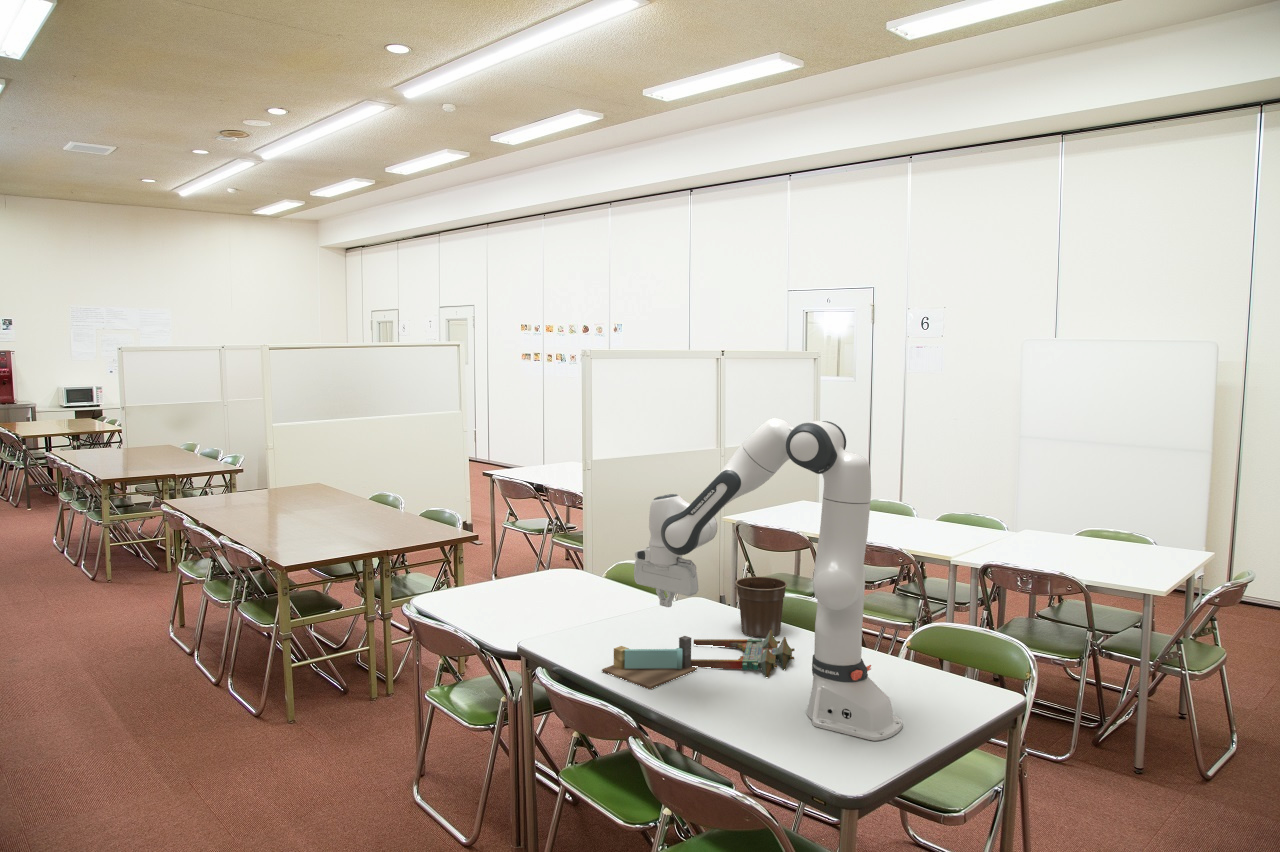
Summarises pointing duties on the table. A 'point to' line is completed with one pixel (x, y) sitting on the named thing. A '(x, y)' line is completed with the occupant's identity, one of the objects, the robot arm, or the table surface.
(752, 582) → the plant pot
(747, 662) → the miniature gate
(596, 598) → the table surface
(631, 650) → the gate
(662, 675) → the gate frame
